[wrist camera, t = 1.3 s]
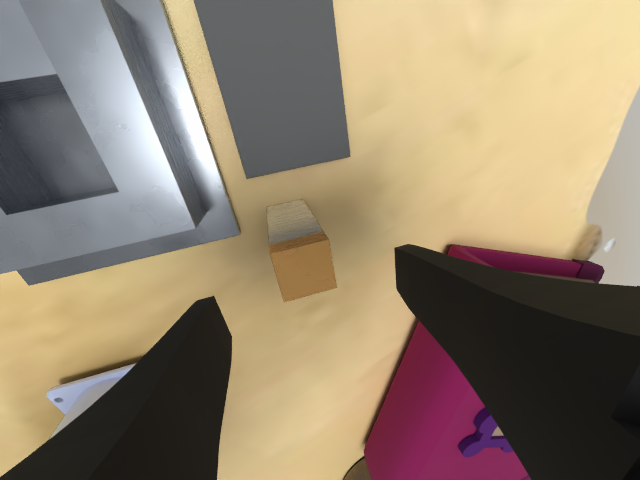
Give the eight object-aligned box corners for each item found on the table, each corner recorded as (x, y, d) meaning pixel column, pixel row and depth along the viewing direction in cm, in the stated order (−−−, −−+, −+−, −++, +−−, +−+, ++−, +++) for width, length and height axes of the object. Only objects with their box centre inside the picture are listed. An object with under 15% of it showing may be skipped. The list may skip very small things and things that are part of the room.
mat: (348, 156, 17) (350, 156, 17) (246, 177, 16) (246, 178, 16) (327, -18, 13) (329, -22, 13) (194, -2, 12) (192, -6, 12)
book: (358, 440, 32) (385, 524, 25) (440, 239, 22) (520, 286, 15) (484, 425, 38) (534, 490, 31) (593, 261, 28) (700, 302, 21)
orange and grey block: (309, 232, 19) (337, 287, 12) (275, 240, 18) (284, 302, 12) (302, 198, 18) (328, 239, 11) (266, 207, 17) (269, 254, 11)
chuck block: (240, 231, 18) (235, 254, 14) (36, 280, 16) (-21, 317, 13) (148, -40, 12) (105, -106, 8) (-190, -6, 10) (-404, -72, 7)
